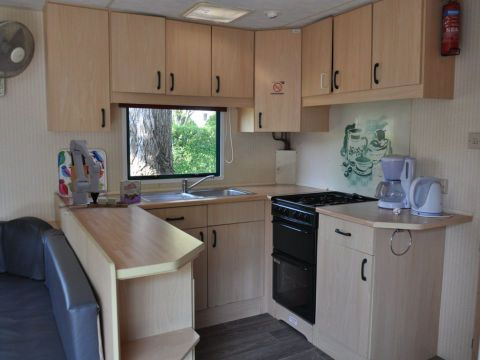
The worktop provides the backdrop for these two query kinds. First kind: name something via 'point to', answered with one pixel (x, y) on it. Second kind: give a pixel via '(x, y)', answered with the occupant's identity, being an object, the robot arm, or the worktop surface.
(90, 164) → the robot arm
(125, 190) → the candy box
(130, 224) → the worktop surface
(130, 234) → the worktop surface
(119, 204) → the walnut chute
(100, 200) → the white block
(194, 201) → the worktop surface
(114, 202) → the sage block
